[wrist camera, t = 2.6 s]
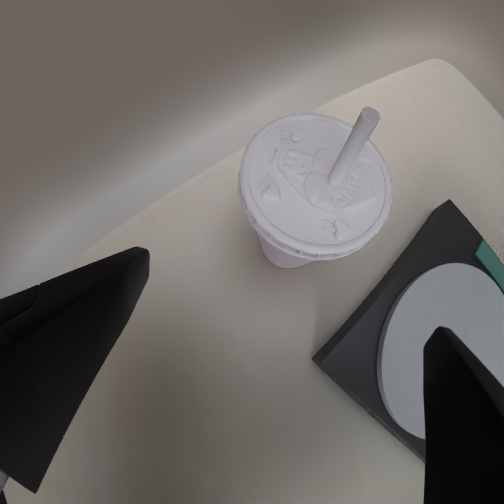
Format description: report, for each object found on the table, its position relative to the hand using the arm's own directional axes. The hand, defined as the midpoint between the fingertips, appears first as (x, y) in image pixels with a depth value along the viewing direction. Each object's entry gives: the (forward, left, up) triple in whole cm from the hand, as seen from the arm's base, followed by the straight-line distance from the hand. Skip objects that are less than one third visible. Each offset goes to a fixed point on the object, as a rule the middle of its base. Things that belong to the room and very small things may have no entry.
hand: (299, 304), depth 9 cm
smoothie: (+5, +3, -12) cm, 13 cm away
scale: (+8, -11, -12) cm, 18 cm away
